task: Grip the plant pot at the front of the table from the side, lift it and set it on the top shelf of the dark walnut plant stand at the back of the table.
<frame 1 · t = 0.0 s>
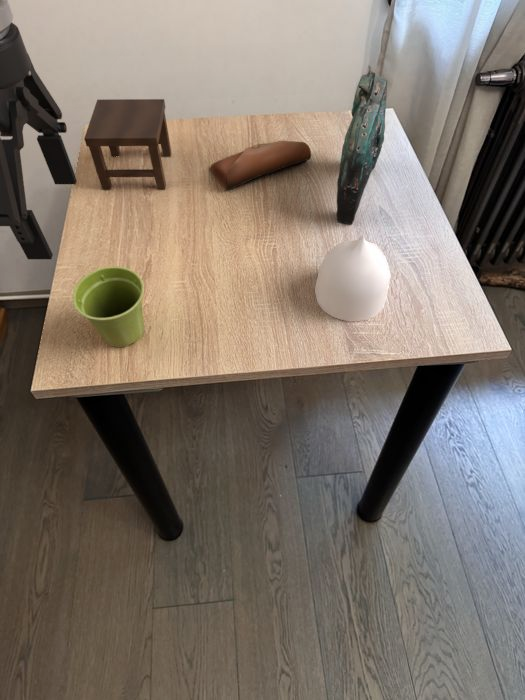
hand: (54, 217, 63), 17 cm above the table, tool pointing down, fingers open, 13 cm apart
plant pot: (123, 331, 75), on the table
sunglasses case: (259, 167, 97), on the table
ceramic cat: (354, 191, 93), on the table
teardrop: (350, 294, 78), on the table
plant stand: (138, 170, 96), on the table
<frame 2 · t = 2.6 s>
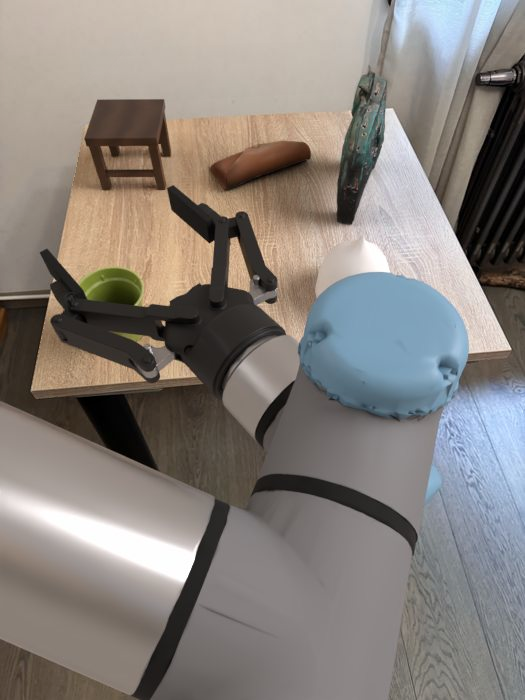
hand: (113, 227, 49), 26 cm above the table, tool horizontal, fingers open, 13 cm apart
nothing on the table moved.
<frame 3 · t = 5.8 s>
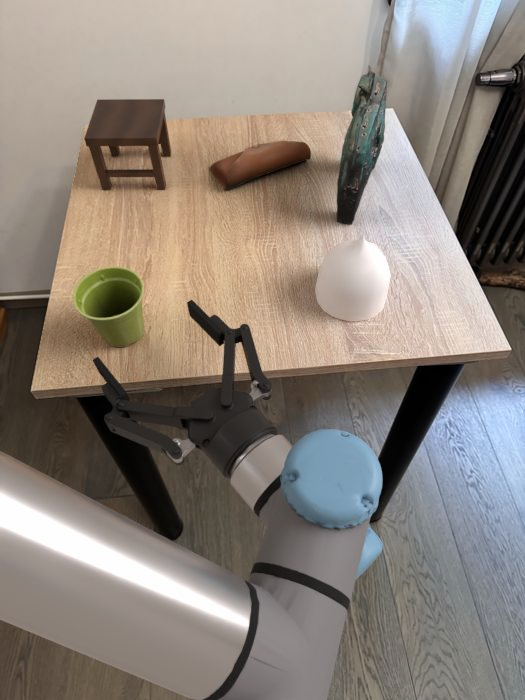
hand: (146, 334, 64), 8 cm above the table, tool horizontal, fingers open, 13 cm apart
nothing on the table moved.
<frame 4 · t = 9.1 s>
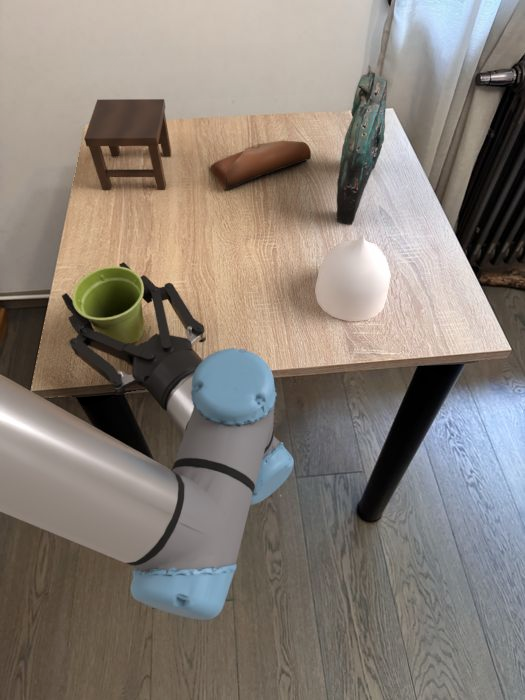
hand: (96, 285, 71), 6 cm above the table, tool horizontal, fingers closed on plant pot, 8 cm apart
plant pot: (123, 331, 75), on the table, touching gripper
everything else where it was.
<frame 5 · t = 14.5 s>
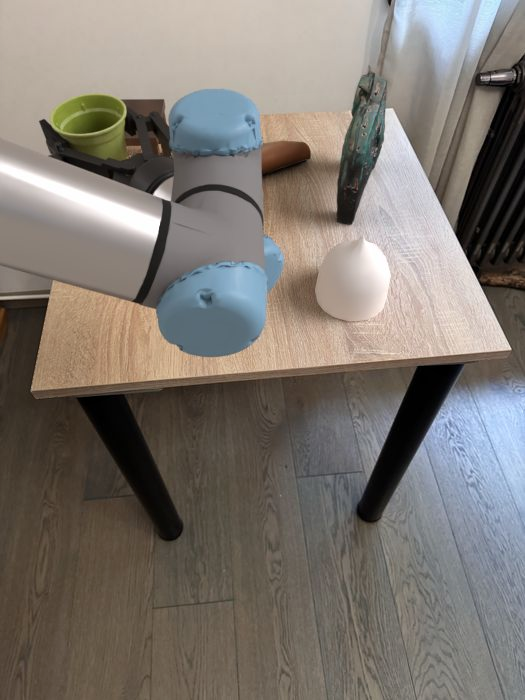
hand: (76, 117, 67), 22 cm above the table, tool horizontal, fingers closed on plant pot, 8 cm apart
plant pot: (106, 174, 70), point 16 cm above the table, touching gripper
everything else where it was.
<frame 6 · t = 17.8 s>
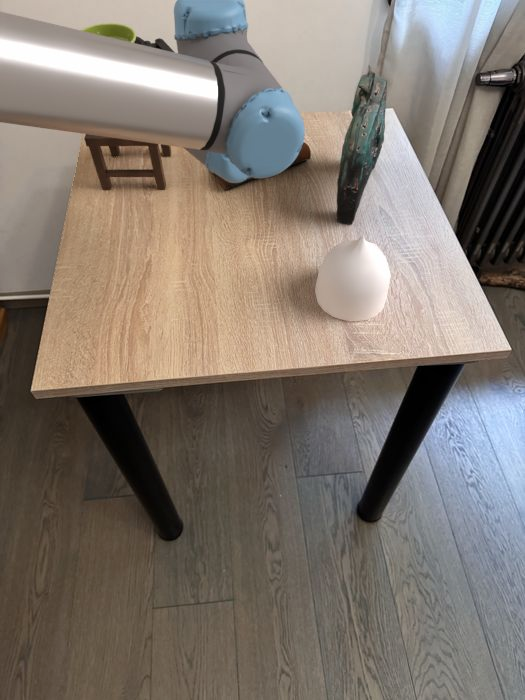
hand: (92, 44, 78), 22 cm above the table, tool horizontal, fingers closed on plant pot, 8 cm apart
plant pot: (118, 96, 81), point 16 cm above the table, touching gripper
everything else where it was.
when the fingers open (16 cm above the table, at t = 20.3 s): plant pot stays where it is, resting on plant stand.
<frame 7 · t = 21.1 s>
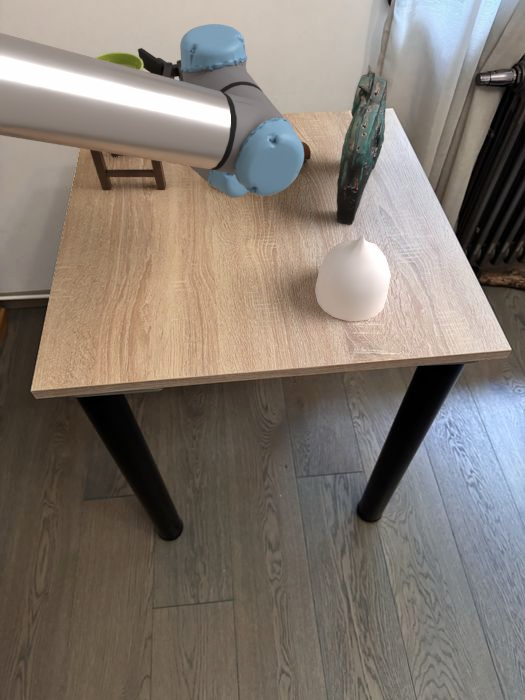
hand: (105, 70, 83), 17 cm above the table, tool horizontal, fingers open, 13 cm apart
plant pot: (126, 119, 88), point 10 cm above the table, touching plant stand
everything else where it was.
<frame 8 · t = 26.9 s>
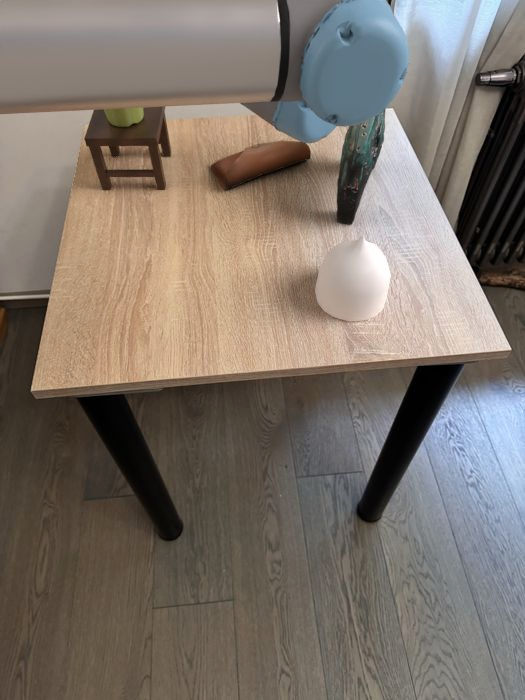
nothing on the table moved.
at the end: plant pot inside the target area on the plant stand (0.0 cm from its centre), point 10.3 cm above the plant stand's base; plant pot tilted 0°; the gripper is holding nothing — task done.
